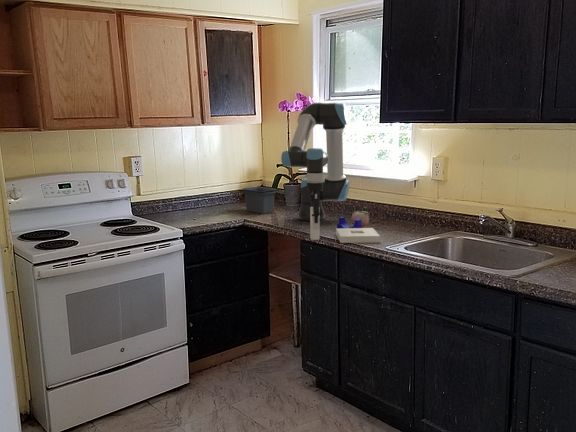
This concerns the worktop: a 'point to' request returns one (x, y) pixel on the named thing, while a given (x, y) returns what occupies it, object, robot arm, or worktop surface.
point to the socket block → (357, 235)
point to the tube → (313, 233)
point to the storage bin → (259, 199)
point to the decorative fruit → (360, 217)
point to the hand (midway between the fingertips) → (314, 227)
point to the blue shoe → (343, 224)
